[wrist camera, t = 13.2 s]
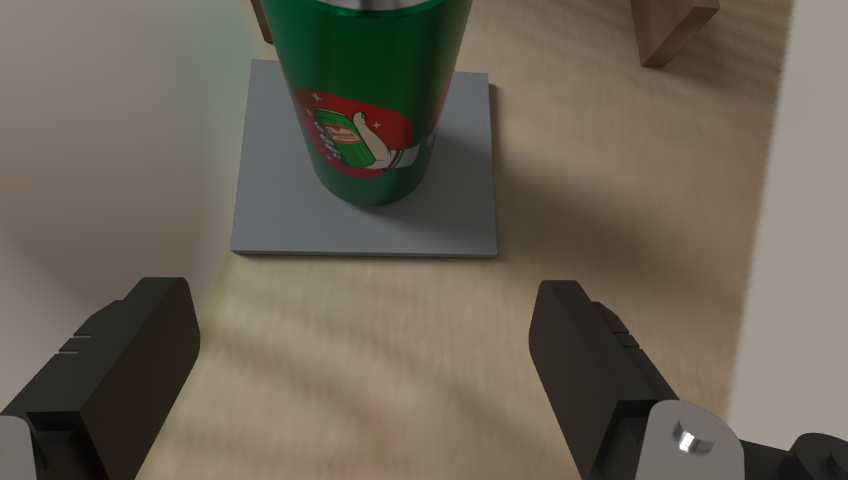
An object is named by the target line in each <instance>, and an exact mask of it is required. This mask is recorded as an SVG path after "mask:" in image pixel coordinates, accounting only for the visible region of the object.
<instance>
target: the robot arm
mask: <svg viewBox="0 0 848 480" xmlns="http://www.w3.org/2000/svg"><path fill="white" fill-rule="evenodd" d="M199 349H200V331H199V327H198V322H197V318H196V314H195V310H194V305H193V301H192V297H191V293H190V288H189V285H188V282H187V281H186V279H185V278H183V277H145V278H143V279H141V280H140V281H139V282H138V283H137V284H136V286H135V287H134V288H133V289H132V290H131V291H130V293H129V294H128V295H127V296H126V297H125V298H124V299H123V300H115V301H114V302H112V303H111V304H109V305H107V306H106V307H104V308H103V309H101V310H99V311H98V312H96V313H95V314H93V315H91V316H90V317H89V318H88V319H87V320H86V321H85V323H84V324H83V325H82V326H81V327H80V328H79V329H78V330H77V331H76V332H75V333H74V337H73V338H70V339H69V340H68V341H67V342H66V343H65V344H64V345H63V346H62V348H60V350H59V354H55V355H54V356H53V357H52V358H51V359H50V360H49V361H48V362H47V363H46V364H45V366H44V367H43V368H42V369H41V370H40V371H39V372H38V373H37V374H36V375H35V376H34V377H33V379H32V380H31V381H30V382H29V383H28V384H27V385H26V386H25V387H24V388H23V389H22V390H21V392H20V393H19V394H18V395H17V396H16V397H15V398H14V399H13V400H12V401H11V402H10V403H9V404H8V406H6V408H5V409H4V410H3V411H2V412H1V413H0V480H134V479H135V477H136V475H137V473H138V471H139V470H140V468H141V466H142V464H143V462H144V460H145V458H146V456H147V454H148V452H149V450H150V448H151V447H152V445H153V443H154V441H155V439H156V437H157V435H158V433H159V431H160V429H161V427H162V425H163V423H164V422H165V420H166V418H167V416H168V414H169V412H170V410H171V408H172V406H173V404H174V402H175V400H176V398H177V397H178V395H179V393H180V391H181V389H182V387H183V385H184V383H185V381H186V379H187V377H188V375H189V373H190V372H191V370H192V368H193V366H194V364H195V362H196V360H197V357H198V354H199ZM529 350H530V355H531V358H532V360H533V363H534V365H535V368H536V370H537V372H538V375H539V377H540V380H541V382H542V384H543V387H544V389H545V392H546V394H547V397H548V399H549V401H550V404H551V406H552V409H553V411H554V413H555V416H556V418H557V421H558V423H559V425H560V428H561V430H562V433H563V435H564V438H565V440H566V442H567V445H568V447H569V450H570V452H571V454H572V457H573V459H574V462H575V464H576V466H577V469H578V471H579V474H580V476H581V479H582V480H848V442H847V441H844V440H842V439H839V438H836V437H833V436H830V435H826V434H821V433H806V434H803V435H801V436H799V437H798V439H797V440H796V441H795V443H794V444H793V446H792V447H791V448H790V450H789V451H785V450H781V449H777V448H773V447H769V446H765V445H760V444H756V443H752V442H748V441H744V440H740V439H738V437H737V436H736V435H735V433H734V432H733V431H732V430H731V429H730V428H729V427H728V425H727V424H725V423H724V422H723V421H722V420H721V419H720V418H718V417H717V416H715V415H714V414H712V413H711V412H709V411H707V410H706V409H704V408H701V407H699V406H697V405H694V404H692V403H689V402H685V401H680V399H679V398H678V397H677V395H676V394H675V393H674V391H673V390H672V389H671V387H670V386H669V385H668V383H667V382H666V381H665V379H664V378H663V377H662V375H661V374H660V372H659V371H658V370H657V368H656V367H655V366H654V364H653V363H652V362H651V360H650V359H649V358H648V356H647V355H646V354H645V352H644V351H643V350H642V349H640V348H639V344H638V343H637V342H636V340H635V339H634V337H633V336H632V335H629V331H628V329H627V328H626V327H625V325H624V324H623V323H622V321H621V320H620V319H619V317H618V316H617V315H616V314H614V313H613V312H612V311H610V310H609V309H608V308H606V307H605V306H604V305H602V304H601V303H600V302H591V300H590V299H589V297H588V296H587V294H586V293H585V292H584V290H583V289H582V287H581V286H580V284H579V283H578V282H577V281H575V280H544V281H542V282H541V284H540V286H539V290H538V294H537V298H536V303H535V307H534V312H533V316H532V321H531V325H530V330H529Z"/></svg>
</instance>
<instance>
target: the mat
mask: <svg viewBox="0 0 848 480" xmlns="http://www.w3.org/2000/svg"><path fill="white" fill-rule="evenodd" d="M230 250H231V251H232V252H233V253H235V254H288V255H352V256H416V257H480V258H495V257H496V256H497V255H498V247H497V230H496V212H495V194H494V177H493V159H492V141H491V124H490V106H489V89H488V74H487V73H470V72H453V76H452V79H451V83H450V87H449V91H448V94H447V98H446V102H445V106H444V109H443V113H442V117H441V121H440V124H439V128H438V132H437V136H436V139H435V143H434V147H433V151H432V154H431V158H430V162H429V165H428V168H427V171H426V174H425V176H424V178H423V180H422V181H421V183H420V184H419V185H418V186H417V188H416V189H415V190H413V191H412V192H411V193H410V194H409V195H407V196H406V197H404V198H403V199H401V200H399V201H396V202H394V203H391V204H388V205H384V206H376V207H370V206H360V205H355V204H352V203H349V202H346V201H344V200H342V199H340V198H338V197H337V196H335V195H334V194H332V193H331V192H330V191H329V190H328V189H327V188H326V187H325V186H324V185H323V184H322V183H321V181H320V180H319V178H318V177H317V175H316V173H315V171H314V168H313V165H312V162H311V159H310V155H309V152H308V149H307V146H306V143H305V140H304V137H303V134H302V130H301V127H300V124H299V121H298V118H297V115H296V112H295V108H294V105H293V102H292V99H291V96H290V93H289V90H288V87H287V83H286V80H285V77H284V74H283V71H282V68H281V65H280V62H279V61H271V60H254V59H252V64H251V73H250V82H249V90H248V99H247V108H246V117H245V125H244V135H243V143H242V151H241V160H240V169H239V178H238V187H237V195H236V204H235V213H234V221H233V230H232V239H231V248H230Z"/></svg>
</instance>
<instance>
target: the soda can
mask: <svg viewBox="0 0 848 480" xmlns="http://www.w3.org/2000/svg"><path fill="white" fill-rule="evenodd" d="M472 1H473V0H260V2H261V5H262V8H263V12H264V15H265V18H266V21H267V24H268V27H269V30H270V33H271V37H272V40H273V43H274V46H275V49H276V52H277V55H278V58H279V62H280V65H281V68H282V71H283V74H284V77H285V80H286V83H287V87H288V90H289V93H290V96H291V99H292V102H293V105H294V108H295V112H296V115H297V118H298V121H299V124H300V127H301V130H302V134H303V137H304V140H305V143H306V146H307V149H308V152H309V155H310V159H311V162H312V165H313V168H314V171H315V173H316V175H317V177H318V178H319V180H320V181H321V183H322V184H323V185H324V186H325V187H326V188H327V189H328V190H329V191H330V192H331V193H332V194H334V195H335V196H337V197H338V198H340V199H342V200H344V201H346V202H349V203H352V204H355V205H360V206H370V207H376V206H384V205H388V204H391V203H394V202H396V201H399V200H401V199H403V198H404V197H406V196H407V195H409V194H410V193H411V192H412V191H413V190H415V189H416V188H417V186H418V185H419V184H420V183H421V181H422V180H423V178H424V176H425V174H426V171H427V168H428V165H429V162H430V158H431V154H432V151H433V147H434V143H435V139H436V136H437V132H438V128H439V124H440V121H441V117H442V113H443V109H444V106H445V102H446V98H447V94H448V91H449V87H450V83H451V79H452V76H453V72H454V68H455V64H456V61H457V57H458V53H459V49H460V46H461V42H462V38H463V34H464V31H465V27H466V23H467V19H468V16H469V12H470V8H471V4H472Z"/></svg>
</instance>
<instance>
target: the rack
mask: <svg viewBox="0 0 848 480" xmlns="http://www.w3.org/2000/svg"><path fill="white" fill-rule="evenodd" d="M251 3H252V6H253V8H254V11H255V14H256V17H257V20H258V23H259V26H260V29H261V32H262V35H263V37H264V40H265V42H273V40H272V37H271V33H270V30H269V27H268V24H267V21H266V18H265V15H264V12H263V8H262V5H261V2H260V0H251ZM631 5H632V11H633V17H634V23H635V28H636V34H637V40H638V46H639V52H640V58H641V64H642V66H653V67H664V66H665V65H666V64H667V63H668V62H669V61H670V60H671V59H672V58H673V57H674V56H675V54H676V53H677V52H678V51H679V50H680V49H681V48H682V47H683V46H684V45H685V44H686V43H687V42H688V41H689V40H690V39H691V38H692V37H693V36H694V35H695V34H696V33H697V32H698V31H699V30H700V29H701V28H702V27H703V26H704V25H705V23H706V22H707V21H708V20H709V19H710V18H711V17H712V16H713V15H714V14H715V13H716V12H717V11H718V10H719V9H720V5H719V1H718V0H631Z"/></svg>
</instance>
